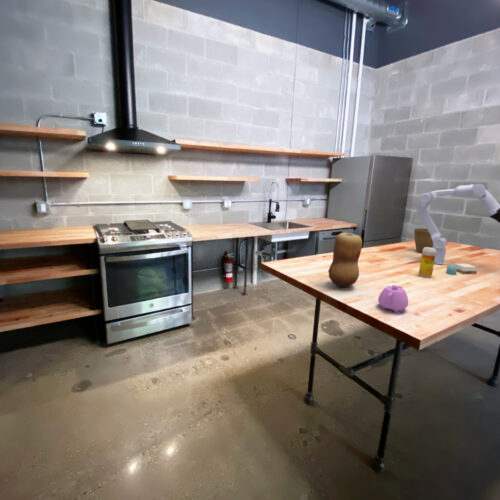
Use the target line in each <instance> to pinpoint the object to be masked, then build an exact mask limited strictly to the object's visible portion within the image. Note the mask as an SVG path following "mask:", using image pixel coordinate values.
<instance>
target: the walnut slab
mask: <svg viewBox="0 0 500 500" xmlns="http://www.w3.org/2000/svg"><path fill="white" fill-rule="evenodd" d="M456 273H458V274H461V275H477V273H478V271H477V270H476V271H462V270H460V269H457V272H456Z"/></svg>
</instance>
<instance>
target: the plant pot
mask: <svg viewBox="0 0 500 500" xmlns="http://www.w3.org/2000/svg"><path fill="white" fill-rule="evenodd" d="M413 231H414V232H413V233H414V242H415V243H414V245H415V249H416V252H417V253H419V254H422V251H423V249H424V247H430V248H432V247H433V241H432V238H431V235H430V233H429V231H428V230H427V228H414V230H413Z"/></svg>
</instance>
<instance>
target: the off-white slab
mask: <svg viewBox="0 0 500 500" xmlns="http://www.w3.org/2000/svg"><path fill="white" fill-rule="evenodd" d="M454 265H456V266H458V267H457V269H460V270H462V271H477V266H475V265H471V264H468V263H454Z"/></svg>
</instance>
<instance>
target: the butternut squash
mask: <svg viewBox="0 0 500 500" xmlns="http://www.w3.org/2000/svg"><path fill="white" fill-rule="evenodd" d="M362 240H363V239H362V237H361V236H360V235H357V234H354V233H350V232H340V233H339V234H338V235H336V238H335V240H334V244H333V245H334V246H333V251H332V252H333V254H332V261H331V263H330V266H329V268H328V271H327V272H328V277H329V280H330V281H331V282H332V283H333V284H334V286H336V287H342V288H343V287H345V288H346V287H349V286H352V285H354V284H355V283H357V281H358V279H359V276H360V269H359V259H360V256H361V252H362V249H363V241H362Z"/></svg>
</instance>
